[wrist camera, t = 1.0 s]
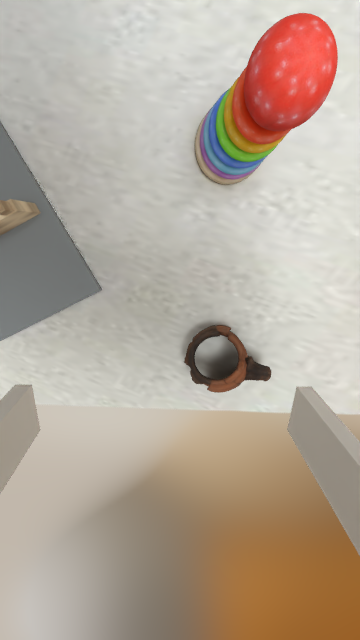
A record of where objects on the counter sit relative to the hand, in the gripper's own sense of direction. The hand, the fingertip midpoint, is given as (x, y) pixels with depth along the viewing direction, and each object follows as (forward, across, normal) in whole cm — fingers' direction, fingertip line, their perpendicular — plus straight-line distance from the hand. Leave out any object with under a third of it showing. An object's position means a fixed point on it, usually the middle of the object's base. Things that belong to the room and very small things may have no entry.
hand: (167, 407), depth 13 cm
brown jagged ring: (+25, +8, -10) cm, 28 cm away
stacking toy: (+25, +7, +17) cm, 31 cm away
